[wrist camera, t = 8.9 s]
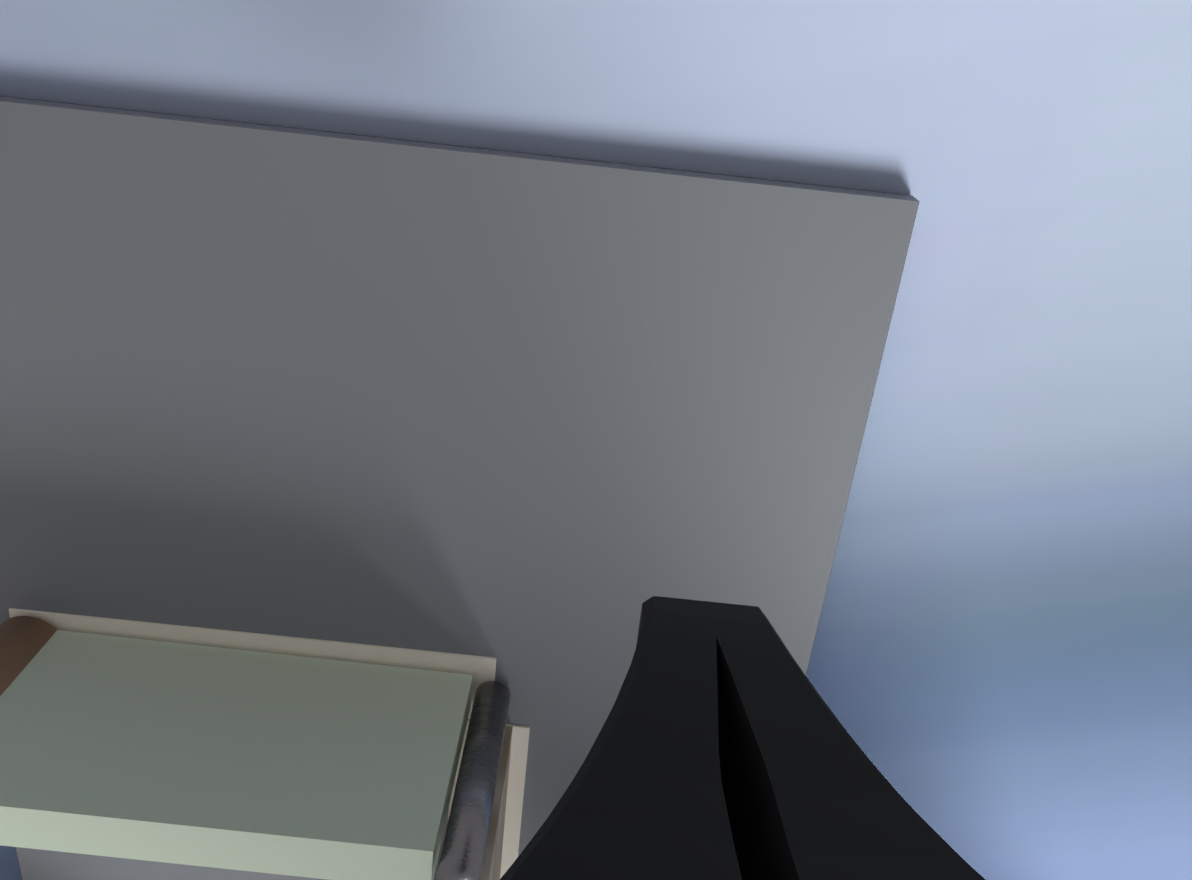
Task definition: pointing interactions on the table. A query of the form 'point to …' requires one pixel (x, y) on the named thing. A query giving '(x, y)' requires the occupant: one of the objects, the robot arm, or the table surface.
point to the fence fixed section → (498, 815)
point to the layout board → (420, 406)
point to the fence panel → (243, 757)
